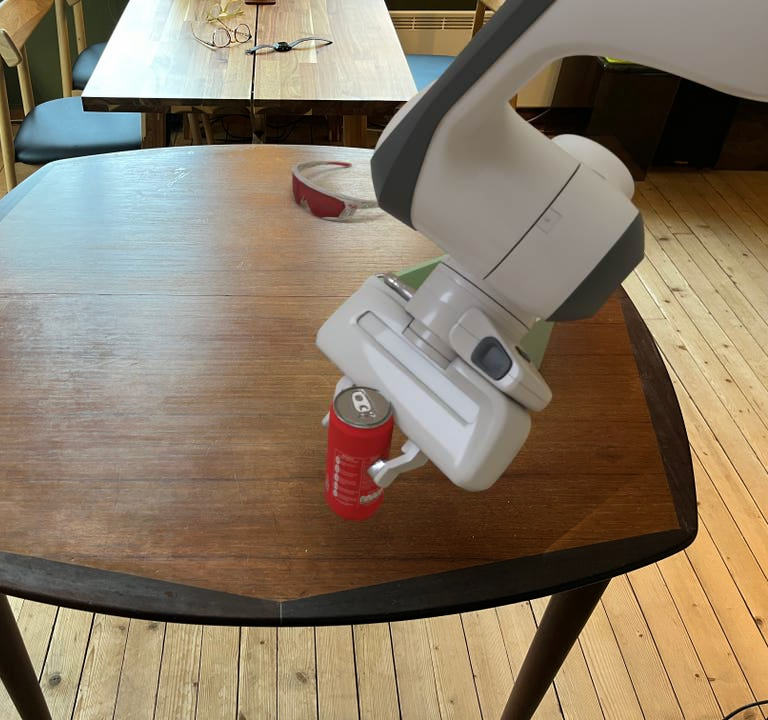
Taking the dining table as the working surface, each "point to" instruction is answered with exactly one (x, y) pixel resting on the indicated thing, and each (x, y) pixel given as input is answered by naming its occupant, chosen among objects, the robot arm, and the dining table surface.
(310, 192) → the sunglasses
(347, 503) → the beverage can
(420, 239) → the dining table surface
